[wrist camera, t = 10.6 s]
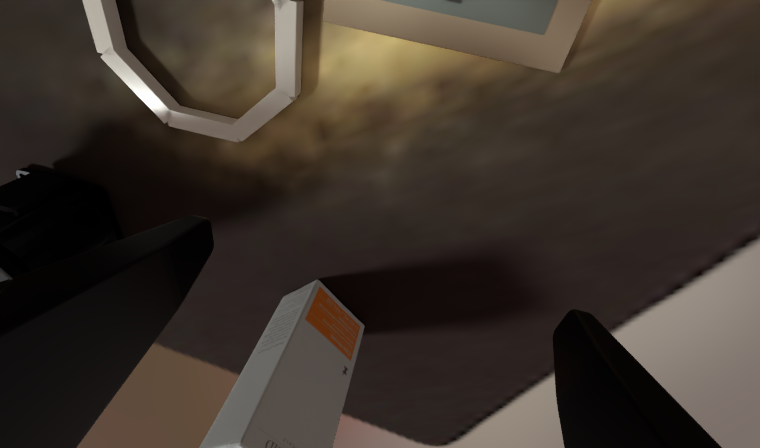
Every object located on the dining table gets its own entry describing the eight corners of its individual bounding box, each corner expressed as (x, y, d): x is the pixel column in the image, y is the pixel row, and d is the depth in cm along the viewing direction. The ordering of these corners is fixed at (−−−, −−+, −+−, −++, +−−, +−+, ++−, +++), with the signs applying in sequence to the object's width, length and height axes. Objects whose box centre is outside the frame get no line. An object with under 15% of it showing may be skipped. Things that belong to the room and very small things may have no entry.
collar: (298, 149, 21) (293, 155, 20) (126, 108, 21) (115, 113, 20) (306, -94, 14) (298, -98, 13) (59, -145, 15) (38, -151, 14)
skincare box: (367, 324, 29) (322, 499, 19) (330, 338, 31) (272, 503, 21) (318, 275, 26) (238, 446, 17) (281, 294, 28) (191, 456, 19)
